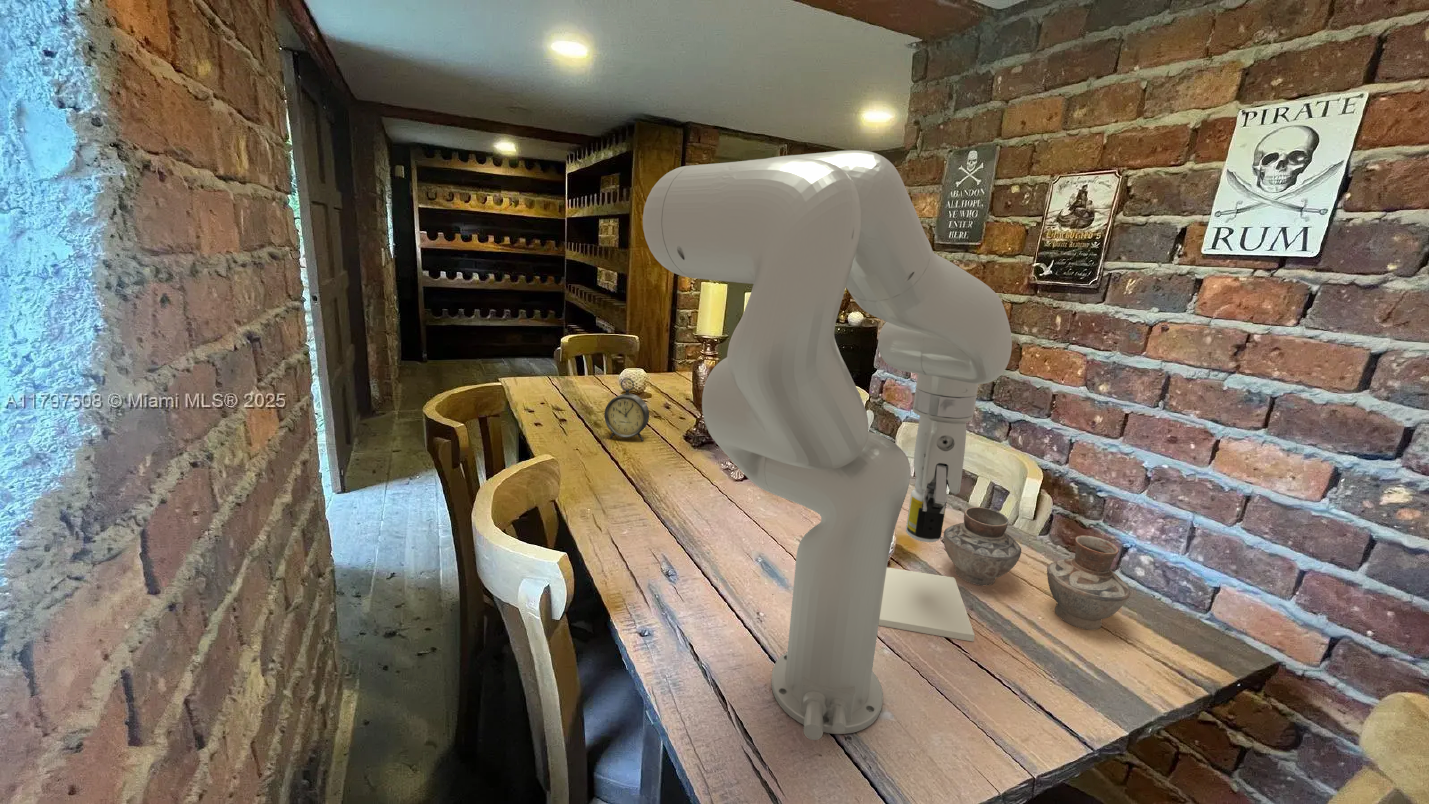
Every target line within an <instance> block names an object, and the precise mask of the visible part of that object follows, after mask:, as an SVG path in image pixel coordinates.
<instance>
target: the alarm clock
mask: <svg viewBox="0 0 1429 804" xmlns="http://www.w3.org/2000/svg"><path fill="white" fill-rule="evenodd" d="M625 380H629V381H630V382H631V383H632V387H631V388H630V389H629V388H624V387H623V382H624V381H625ZM620 386H621V388H622V390H625V393H622V394H620V395H618V396H616V397H614V398H612V399H611V400H609V402H608V403H607V405H606V406H605V409H604V421H605V424H606V427H607V428H608V430H609V431H610V432H611V435H610V436H609V439H612V438H613V436H615V435H616V436H618V437H620V438H624V439H625V438H626V439H628V438H633V437H636V436H638V438H639V439H640V440H641V442H644V438H643V436H642V435H641V432H642V431H643V430H644V429H645V428H646V427H647V425H648V424H649V421H650V411H649V408H648V405H647V403H646V402H645V400H644V399H643V398H641V397H639V395H636V394H633V393H630V391H631V390H633V389H634V386H635V383H634V380H632V379H631V378H628V377H625V378H623V379H621V382H620Z"/></svg>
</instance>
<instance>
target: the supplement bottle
mask: <svg viewBox="0 0 1429 804" xmlns="http://www.w3.org/2000/svg"><path fill="white" fill-rule="evenodd" d="M928 488H934V485H933V484H928ZM933 496H934V494H931V493H929V494H928V499H929V498H930V497H931V498H933ZM922 497H923V489H922V488H921V487H920V485H919V483H918V480H917V477H916V478H915V483H914V489H912V491H911V492H910V499H909V506H908V511H907V512H908V513H907V519H906V526H905V532H906V534H907V535H908V537H910V538H912V539H914V540H915V541H919V542H922V543H923V542H924V543H935V542H938V541H940V539H942V538H941V537H942V535H941V536H940V538H939V539H933V538H926V537H919V536H917V535H916V533H915V531H916V524H917V517H918V511H919V508H922ZM947 503H948V498H947V496H946V503H945V511H944V516H945V514H946V507H947ZM944 521H945V517H944V518H943V522H944ZM943 525H944V523H943V524H942V528H944V527H943ZM942 531H943V529H942V530H941V534H942Z"/></svg>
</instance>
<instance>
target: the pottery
mask: <svg viewBox="0 0 1429 804" xmlns="http://www.w3.org/2000/svg"><path fill="white" fill-rule="evenodd" d="M1008 525H1009V518H1007V516H1006V515H1005V514H1003V513H1001V512H999V511H997V510H994V509H991V508H988V507H982V506H971V507H968V508H966V509H965V510H964V514H963V522H961V523H956V524H953V525H951V526H948V527H946V528H945V530H943V537H942V538H943V539H942V541H943V546H944V549H945V552H946V553H947V556H948V558H949V559H950V561H951V562H952V564H953V565H955V570H954V571H955V573H956V575H957V576H958V577H959V578H960V579H962V580H964V581H965V582H968V583H970V584H972V585H976V586H983V585H986V586H992V585H993V584H994V583H995V581H996V579H998V578H999V577H1002V576H1004V575H1005V574H1007V573H1008V572H1010V571H1011V570H1012V569H1013V568H1014V567H1015V565H1016V564H1017V563H1018V562H1019V559H1020V558H1021V555H1022V547H1021V546H1020V544H1019V542H1017V541H1016V540H1015V539H1014V538H1013V537H1012V536H1011V535H1010V534H1008V533H1007V532H1006V530H1007V528H1008ZM1074 540H1075V552H1074V553H1075V555H1074V558H1073V557H1072V558H1063V559H1059V560H1056V561H1053V562H1051V563H1049V564H1048V566H1047V567H1046V574H1047V583H1048V587H1049V590H1050V591H1049V592H1050V593H1051V595H1052V598H1053V599H1054V600H1055V602H1056V606H1055V607H1054V611H1055V613H1056V615H1057V617H1059V618H1060V619H1062V621H1064V622H1065V623H1066V624H1069V625H1071V626H1073V627H1075V628H1078V627H1079V629H1082V628H1083V629H1082V630H1088V631H1094V630H1095V631H1096V630H1099V629H1101V627H1102V624H1103V622H1102V620H1105V619H1106V618H1110V617H1112V616H1114V615H1115V614H1116V613H1117V612H1118V611H1119V610H1121V609H1122V607H1124V605H1125V603H1126V602H1127V601H1128V600H1129V598H1130V596H1131V591H1130V589H1129V586H1128V585H1127V584H1126V582H1125V581H1123V579H1122V578H1121V577H1120V576H1119V575H1117V574H1116V573H1115V572H1113V570H1111V566H1112V564H1113V562H1114V559H1115V558H1116V557H1117V556H1118V555H1117V554H1118V553H1119V548H1118V546H1117V545H1115V544H1114V543H1112V542H1110V541H1109V540H1106V539H1104V538H1100V537H1096V536H1092V535H1077V536H1076V537H1075V539H1074Z"/></svg>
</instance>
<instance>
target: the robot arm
mask: <svg viewBox="0 0 1429 804" xmlns="http://www.w3.org/2000/svg"><path fill="white" fill-rule="evenodd" d="M642 214H643V215H642V230H643V233H644V234H643V235H644V238H645V242H646V244H647V246H648V248H649V251H650V252H651V254H652V255H653V257H654V259H655V260H656V261H657V262H658V263H659V264H660V265H661V266H662V267H663V268H665V269H666V270H668V271H669V272H672V274H676V275H678V276H681V277H685V278H689V279H690V278H691V279H699V280H707V281H709V280H710V281H720V282H729V283H737V284H739V283H740V284H741V283H742V284H749V285H751V284H752V287H751V288H752V289H751V292H750V295H749V297H748V300H747V302H746V305H745V308H744V311H743V314H742V316H741V318H740V320H739V322H738V323H737V325H736V327H735V329H734V331H733V333H732V334H731V338H730V340H729V343H728V348H727V354H726V357H725V358H723V359H721V361H719V362H718V363H717V364H716V365H715V366H714V367H713V368H712V370H711V371H710V373H709V374H708V376H707V379H706V380H705V383H704V386H703V391H702V395H701V396H702V397H701V409H702V416H703V421H704V424H705V425H704V426H705V428H706V429H707V431H708V433H709V435H710V436H711V438H712V439H713V441H714V442H715V443H716V445H718V447H719V448H720V449H721V451H723V452H724V454H725V455H726V456H728V458H729V459H730V461H732V463H733V464H734V465H735V466H736V467H737V468H738V469H739V470H740V471H741V472H742V473H743V475H744V476H746V478H747V479H748V480H749V481H750V482H752V483H753V484H754V485H755V486H756V487H758V488H759V489H762V490H763V491H765V492H768V493H769V494H772V495H774V496H777V497H779V498H781V499H785V500H787V501H790V502H793V503H794V504H798V505H800V506H802V507H805V508H806V509H809V510H810V511H813V512H815V513H817V514H818V515H819V516H820V518H821V519H820V522H819V523H817V524H816V525H815V526H812V528H811V529H809V530H808V531H807V532H806V533H805V534H804V535H803V537H802V538H801V539H800V542H799V543H798V546H797V550H796V555H795V557H796V558H795V567H794V568H795V569H794V577H793V591H792V600H791V608H790V609H791V610H790V619H789V620H790V622H789V631H788V632H789V633H788V641H787V643H788V644H787V651H786V652H785V653H783V654H782V655H781V656H780V657H778V659H777V660H776V661H775V663H774V665H773V668H772V672H771V680H770V681H771V682H770V683H771V689H772V695H773V696H774V697H775V700H776V702H777V703H778V705H779V706H780V707H781V709H782V710H783V711H784V712H785V713H786V714H787V715H788V716H789V717H790V718H792V719H793V720H794V721H796V722H798V723H799V724H800V725H801V724H802V725H803V734H804V736H805V737H806V738H807V739H809V740H811V741H818V740H820V739H821V738H822V737H823V735H824V733H827V734H832V735H834V734H835V735H847V734H852V733H856V732H859V731H862V730H865V729H866V728H868V727H870V726H871V725H872V724H873V723H874V722H875V721H876V720H878V718H879V716H880V713H881V711H882V706H883V702H884V698H883V697H884V692H883V689H882V685H881V682H880V680H879V678H878V677H877V675H876V674H875V673H874V671H873V667H874V660H875V659H874V658H875V655H876V653H875V652H876V646H877V641H878V640H877V639H878V631H879V619H880V612H881V605H882V598H883V591H884V584H885V577H886V570H887V567H888V563H889V557H890V553H891V552H890V551H891V548H892V547H891V546H892V541H893V537H894V534H895V529H896V526H897V524H898V523H897V522H898V520H899V516H900V513H901V511H902V508H903V506H904V502H905V499H906V497H907V493H908V489H909V487H910V482H911V475H912V474H911V470H912V469H911V465H910V464H911V463H910V461H909V458H908V456H907V454H906V453H905V452H904V450H903V449H902V448H901V446H899V445H897V444H896V443H895V442H893V441H892V440H890V439H889V438H886V437H884V436H883V435H880V434H877V433H874V432H871V431H869V417H868V413H867V409H866V407H865V405H864V402H863V400H862V397H861V394H860V392H859V390H858V387H857V386H856V383H855V382H854V380H853V378H852V375H851V373H850V371H849V369H848V367H847V365H846V362H845V361H844V359H843V357H842V355H841V352H840V349H839V347H838V344H837V342H836V338H835V329H836V322H837V319H838V316H839V312H840V308H841V305H842V303H843V302H842V300H843V298H844V295H845V291H846V290H847V291H848V292H849V294H850V296H851V297H852V299H853V300H854V302H855V303H856V304H857V305H858V306H859V308H861V309H862V310H863V312H866V313H867V314H869V315H871V316H873V317H875V318H878V319H879V320H883V321H884V323H883V325H882V328H881V329H880V332H879V335H878V339H877V340H878V342H877V347H878V350H879V354H880V356H881V357H880V358H881V359H882V360H883V362H885V364H887V365H888V366H890V367H891V368H893V369H896V370H899V371H902V372H907V373H912V374H917V379H916V384H915V389H914V390H915V391H914V400H913V406H912V412H913V413H914V414H915V415H917V416H919V418H918V426H917V432H916V439H915V446H914V452H913V469H914V473H915V476H916V478H917V480H918V483H919V485H920V487H921V488H922V489H923V497H922V508H919V511H918V517H917V524H916V531H915V533H916V535H917V536H919V537H926V538H933V539H939V538H940V536H941V537H942V533H941V530H942V531H943V527H942V524H943V525H944V521H943V518H944V519H945V515H944V511H945V512H946V509H945V503H946V497H947V490H948V489H949V492H950V493H951V494H953V495H954V496H956V495H958V494H959V493H960V491H961V485H962V479H963V478H962V477H963V468H964V461H965V453H966V452H965V451H966V443H967V442H966V441H967V440H966V439H967V422H970V421H973V419H974V414H975V408H976V407H975V406H976V402H977V398H978V397H977V396H978V395H977V394H978V391H979V385H984V384H990V383H991V382H994V381H995V380H997V379H998V378H1000V377H1001V376H1002V374H1003V373H1005V371H1006V369H1007V366H1008V364H1009V363H1010V360H1011V355H1012V348H1013V341H1012V337H1013V336H1012V331H1011V326H1010V321H1009V319H1008V315H1007V313H1006V309H1005V307H1004V303H1003V302H1002V299H1001V298H1000V296H999V295H998V294H997V293H996V292H995V291H994V290H993V289H992V288H991V287H990V286H989V285H988V284H986V283H984V282H983V281H982V280H980V279H979V278H977V277H975V276H974V275H973V274H971V273H969V272H967V270H965V269H963V268H961V267H959V266H958V265H956V264H955V263H953V262H952V261H949V260H948V259H946V258H944V257H942V256H940V255H939V254H936V253H935V252H934V250H933V248H932V245H931V243H930V241H929V239H928V237H927V235H926V233H925V230H924V227H923V225H922V223H921V220H920V218H919V216H918V213H917V210H916V208H915V206H914V203H913V202H912V199H911V197H910V195H909V193H908V190H907V189H906V186H905V184H904V181H903V179H902V177H901V175H900V173H899V171H898V169H896V167H895V165H894V164H893V163H892V162H891V161H890V160H889V159H887V158H886V157H884V156H883V155H881V154H878V153H876V152H873V151H868V150H858V149H857V150H856V149H855V150H854V149H853V150H850V149H848V150H837V151H826V152H825V151H824V152H816V153H815V152H814V153H804V154H790V155H780V156H774V157H773V156H772V157H766V158H757V159H747V160H742V161H741V160H740V161H738V160H737V161H729V162H720V163H719V162H718V163H708V164H707V163H705V164H694V165H691V164H690V165H685V166H680V167H677V168H675V169H672V170H669V172H666V174H664V175H663V176H662V177H661V178H659V180H658V181H657V182H656V183H655V184H654V186H653V187H652V188H651V190H650V192H649V194H648V196H647V198H646V201H645V203H644V207H643V213H642ZM928 484H933V485H934V488H928ZM947 487H948V488H947ZM929 493H931V494H934V496H933V498H931V497H930V498H929V499H928V494H929ZM946 504H947V503H946ZM940 539H941V538H940ZM940 539H939V540H940Z"/></svg>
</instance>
